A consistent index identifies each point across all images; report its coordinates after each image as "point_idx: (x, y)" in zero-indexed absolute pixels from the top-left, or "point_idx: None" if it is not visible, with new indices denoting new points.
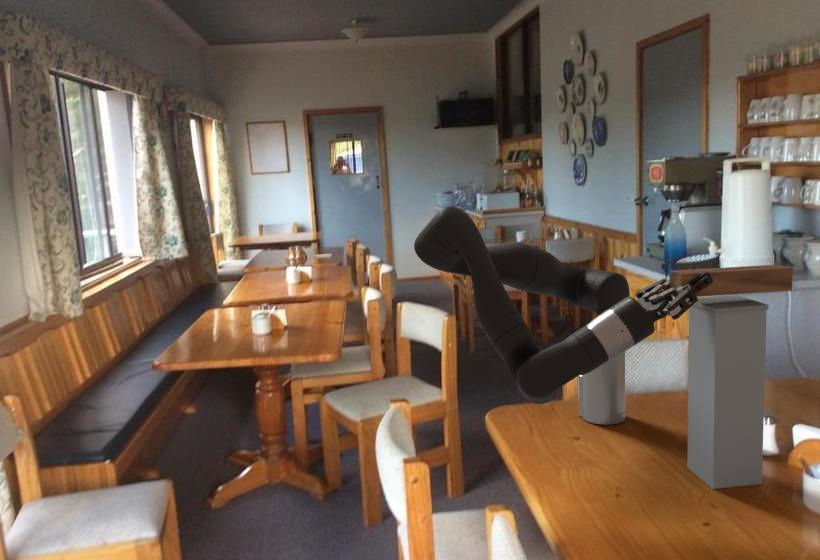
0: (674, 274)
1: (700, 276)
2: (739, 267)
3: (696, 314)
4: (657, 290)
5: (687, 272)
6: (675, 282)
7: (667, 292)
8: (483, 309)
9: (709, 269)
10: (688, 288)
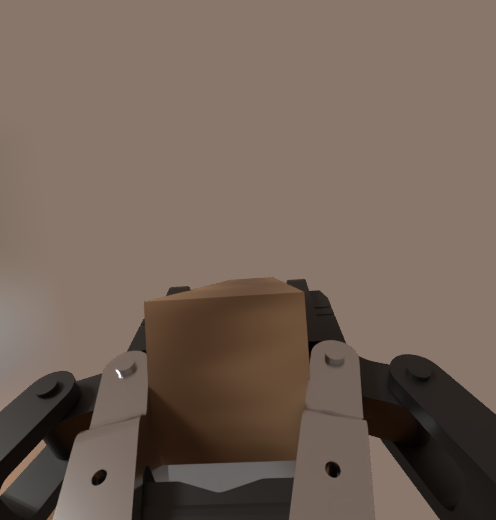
0: (212, 313)
1: (309, 298)
2: (229, 282)
3: (205, 486)
4: (133, 516)
5: (252, 290)
6: (233, 366)
7: (361, 488)
8: None
9: (221, 286)
10: (428, 368)
